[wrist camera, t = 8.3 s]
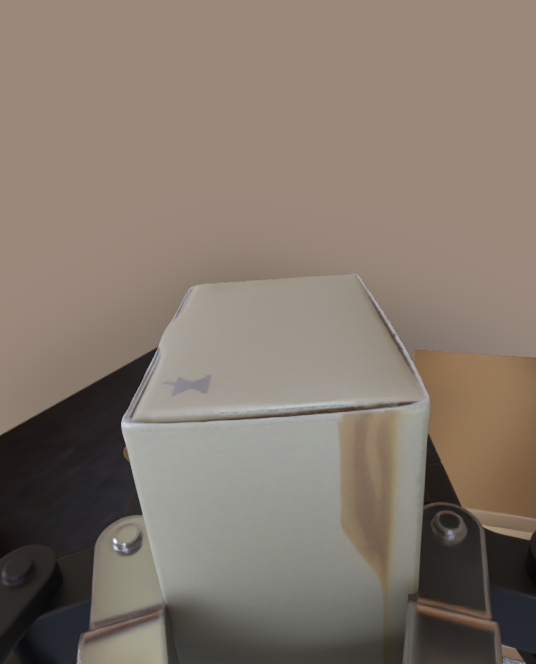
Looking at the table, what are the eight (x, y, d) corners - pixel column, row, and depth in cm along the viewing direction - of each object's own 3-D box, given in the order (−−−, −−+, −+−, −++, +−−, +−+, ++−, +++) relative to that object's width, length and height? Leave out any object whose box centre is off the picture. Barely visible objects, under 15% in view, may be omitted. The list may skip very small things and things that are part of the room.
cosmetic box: (409, 861, 11) (455, 416, 6) (221, 866, 11) (102, 438, 6) (361, 599, 17) (363, 263, 12) (238, 605, 17) (186, 276, 12)
